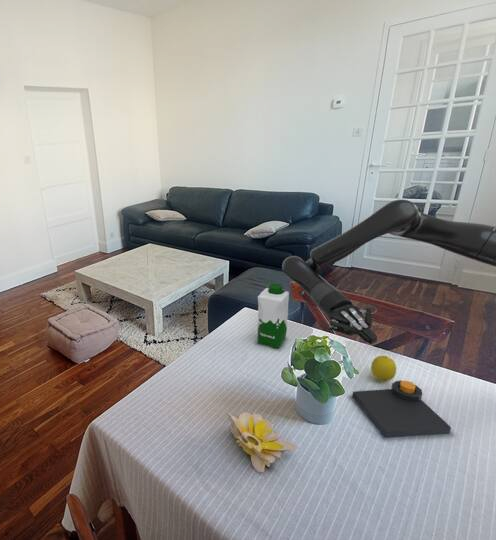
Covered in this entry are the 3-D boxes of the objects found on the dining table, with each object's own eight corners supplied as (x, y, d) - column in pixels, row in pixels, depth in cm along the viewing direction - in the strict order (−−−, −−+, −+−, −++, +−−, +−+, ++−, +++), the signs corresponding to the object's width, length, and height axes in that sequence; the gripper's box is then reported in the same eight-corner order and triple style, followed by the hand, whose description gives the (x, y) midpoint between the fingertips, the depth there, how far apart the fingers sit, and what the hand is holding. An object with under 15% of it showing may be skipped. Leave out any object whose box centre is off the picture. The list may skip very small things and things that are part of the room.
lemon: (398, 387, 90) (403, 362, 87) (375, 387, 91) (379, 362, 88) (387, 374, 95) (391, 350, 93) (365, 373, 96) (369, 350, 94)
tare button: (408, 385, 86) (409, 380, 86) (417, 393, 84) (418, 388, 83) (396, 386, 87) (397, 381, 86) (405, 394, 84) (406, 389, 83)
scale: (408, 390, 89) (410, 379, 88) (453, 433, 76) (457, 421, 74) (350, 394, 90) (351, 384, 88) (385, 437, 77) (387, 425, 75)
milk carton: (288, 338, 116) (292, 285, 109) (280, 351, 110) (282, 296, 103) (263, 331, 122) (265, 281, 115) (253, 343, 116) (254, 291, 109)
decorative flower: (308, 467, 70) (299, 431, 67) (260, 490, 69) (248, 455, 66) (269, 418, 84) (259, 387, 81) (228, 437, 83) (217, 406, 80)
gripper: (310, 298, 99) (353, 340, 86) (351, 283, 100) (400, 323, 86) (308, 315, 104) (348, 358, 90) (347, 301, 105) (394, 342, 91)
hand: (374, 341), depth 88 cm, fingers closed
